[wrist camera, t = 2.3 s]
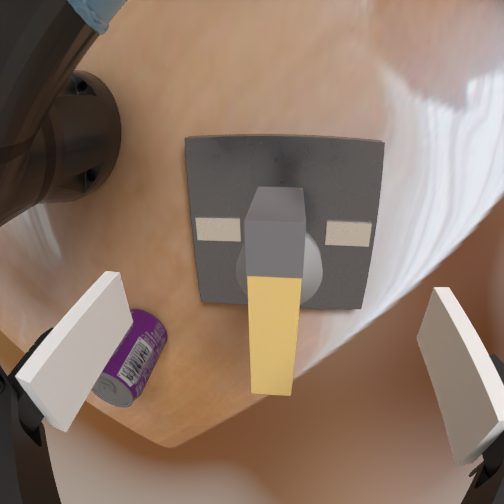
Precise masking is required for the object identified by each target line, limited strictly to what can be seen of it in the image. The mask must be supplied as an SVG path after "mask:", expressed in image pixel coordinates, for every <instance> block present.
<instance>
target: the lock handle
mask: <svg viewBox="0 0 504 504" xmlns="http://www.w3.org/2000/svg"><path fill="white" fill-rule="evenodd" d="M244 231H245V242H244V244H243V246H242V248H241V251H240V254H239V257H238V260H237V264H236V277H237V281H238V283H239V285H240V287H241V289H242V290H243V292H244V293H245V294H246V295H247V296H248V314H249V341H250V368H251V393H256V394H270V395H287V396H288V395H289V396H290V395H291V388H292V380H293V371H294V361H295V351H296V341H297V330H298V319H299V307H300V304H302V303H304V302H306V301H307V300H309V299H310V298H311V297H312V296H313V295H314V294H315V293H316V291H317V290H318V288H319V286H320V284H321V281H322V276H323V269H322V261H321V254H320V250H319V247H318V245H317V243H316V242H315V240H314V239H313V238H312V236H311V235H310V234H309V233H307V232H306V216H305V204H304V194H303V188H296V187H258V188H257V191H256V193H255V196H254V198H253V200H252V203H251V205H250V208H249V210H248V213H247V215H246V218H245V220H244Z"/></svg>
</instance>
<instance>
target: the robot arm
mask: <svg viewBox="0 0 504 504" xmlns="http://www.w3.org/2000/svg"><path fill="white" fill-rule="evenodd" d="M126 1H127V0H0V226H2V225H4V224H5V223H7V222H8V221H10V220H11V219H13V218H15V217H16V216H18V215H19V214H21V213H23V212H24V211H26V210H27V209H29V208H31V207H33V206H34V205H36V204H42V203H55V202H68V201H73V200H76V199H79V198H81V197H83V196H85V195H87V194H88V193H90V192H92V191H94V190H95V189H97V188H98V187H99V186H100V185H101V184H102V183H103V182H104V181H105V180H106V179H107V177H108V176H109V174H110V173H111V171H112V169H113V167H114V165H115V162H116V159H117V156H118V152H119V148H120V141H121V123H120V116H119V112H118V108H117V105H116V102H115V100H114V97H113V95H112V94H111V92H110V90H109V89H108V87H107V86H106V85H105V84H104V83H103V82H102V81H101V80H100V79H99V78H97V77H96V76H94V75H93V74H91V73H88V72H85V71H79V70H74V69H75V68H76V66H77V65H78V64H79V62H80V61H81V59H82V58H83V56H84V55H85V54H86V52H87V51H88V50H89V48H90V47H91V45H92V44H93V43H94V42H95V40H96V39H97V38H98V36H99V35H100V34H104V33H105V32H106V31H107V30H108V27H109V22H110V21H111V20H112V19H113V17H114V16H115V15H116V13H117V12H118V11H119V10H120V8H121V7H122V6H123V5H124V3H125V2H126ZM132 323H133V319H132V316H131V312H130V309H129V305H128V302H127V298H126V294H125V291H124V287H123V283H122V279H121V275H120V272H110V271H105V272H104V273H103V274H102V275H101V277H100V278H99V279H98V280H97V281H96V282H95V283H94V284H93V285H92V286H91V287H90V288H89V289H88V290H87V291H86V293H85V294H84V295H83V296H82V297H81V298H80V299H79V300H78V301H77V302H76V304H75V305H74V306H73V307H72V308H71V309H70V310H69V311H68V313H67V314H66V315H65V316H64V317H63V318H62V319H61V321H60V322H59V323H58V324H57V325H56V326H55V327H54V328H51V329H49V330H48V331H46V332H45V333H43V334H42V335H41V336H40V337H39V338H38V340H37V341H36V342H35V345H33V346H32V347H31V348H30V349H29V352H27V353H26V354H25V355H24V356H23V358H22V359H21V360H20V361H19V363H18V364H17V365H16V367H15V368H14V369H13V370H12V372H11V373H10V374H9V375H8V376H7V375H6V374H5V372H4V370H3V369H2V367H1V366H0V504H61V501H60V498H59V494H58V491H57V487H56V483H55V479H54V475H53V471H52V467H51V462H50V457H49V452H48V447H47V441H46V435H45V429H44V426H43V424H42V422H41V421H42V419H43V418H44V417H45V418H46V419H47V421H48V422H49V423H50V425H51V426H53V427H55V428H58V429H60V430H62V431H64V432H67V430H68V429H69V427H70V425H71V423H72V422H73V419H74V418H75V416H76V414H77V413H78V411H79V409H80V407H81V406H82V404H83V403H84V401H85V399H86V397H87V396H88V394H89V392H90V391H91V389H92V387H93V386H94V384H95V382H96V381H97V379H98V377H99V376H100V374H101V372H102V371H103V369H104V368H105V366H106V364H107V363H108V361H109V359H110V358H111V356H112V355H113V353H114V351H115V350H116V348H117V347H118V345H119V344H120V342H121V340H122V339H123V337H124V336H125V334H126V333H127V331H128V330H129V328H130V326H131V325H132ZM416 339H417V342H418V344H419V347H420V349H421V353H422V355H423V358H424V361H425V364H426V367H427V369H428V372H429V375H430V378H431V381H432V384H433V387H434V390H435V393H436V397H437V400H438V403H439V407H440V410H441V413H442V417H443V420H444V424H445V427H446V431H447V435H448V439H449V443H450V446H451V451H452V455H453V459H454V464H455V467H458V466H462V465H466V464H469V463H473V462H474V461H475V460H476V459H477V458H478V457H479V456H480V455H481V454H482V455H483V459H484V461H483V462H482V463H481V464H479V465H478V466H477V467H476V468H475V469H474V470H473V471H472V472H471V473H470V475H469V477H471V476H472V475H474V474H475V473H476V472H477V473H476V475H475V477H474V479H473V481H472V483H471V485H470V487H469V489H468V491H467V493H466V495H465V497H464V499H463V501H462V503H461V504H504V363H503V362H502V361H501V360H500V359H499V358H498V357H497V356H496V355H495V354H492V355H488V353H487V351H486V349H485V347H484V345H483V344H482V342H481V340H480V338H479V337H478V335H477V333H476V331H475V329H474V328H473V326H472V324H471V322H470V321H469V319H468V318H467V316H466V314H465V312H464V311H463V309H462V307H461V306H460V304H459V303H458V301H457V299H456V298H455V296H454V295H453V293H452V292H451V290H450V288H449V287H434V288H433V291H432V294H431V298H430V301H429V304H428V307H427V310H426V313H425V316H424V319H423V322H422V324H421V327H420V330H419V333H418V335H417V338H416Z"/></svg>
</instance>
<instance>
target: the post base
mask: <svg viewBox="0 0 504 504" xmlns="http://www.w3.org/2000/svg"><path fill="white" fill-rule="evenodd" d="M384 144H385V143H384V142H382V141H380V140H370V139H359V138H347V137H333V136H315V135H285V134H237V135H208V136H190V137H187V138H185V151H186V165H187V177H188V189H189V200H190V211H191V221H192V230H193V239H194V248H195V257H196V265H197V273H198V281H199V289H200V296H201V302H213V303H226V304H241V305H248V296H247V295H246V294H245V293H244V292H243V290H242V289H241V287H240V285H239V283H238V281H237V277H236V264H237V260H238V257H239V254H240V251H241V248H242V246H243V244H244V242H245V231H244V220H245V218H246V215H247V213H248V210H249V208H250V205H251V203H252V200H253V198H254V196H255V193H256V191H257V188H258V187H296V188H303V194H304V204H305V216H306V232H307V233H309V234H310V235H311V236H312V238H313V239H314V240H315V242H316V243H317V245H318V247H319V250H320V254H321V261H322V269H323V276H322V281H321V284H320V286H319V288H318V290H317V291H316V293H315V294H314V295H313V296H312V297H311V298H310V299H309V300H307V301H306V302H304V303H302V304H300V307H299V308H328V309H361V307H362V303H363V298H364V293H365V288H366V283H367V278H368V272H369V267H370V261H371V255H372V249H373V243H374V236H375V230H376V223H377V215H378V207H379V199H380V190H381V180H382V170H383V158H384Z"/></svg>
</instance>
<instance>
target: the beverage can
mask: <svg viewBox="0 0 504 504" xmlns="http://www.w3.org/2000/svg"><path fill="white" fill-rule="evenodd" d="M130 312H131V316H132V319H133V323H132V325H131V326H130V328H129V330H128V331H127V333H126V334H125V336H124V337H123V339H122V340H121V342H120V344H119V345H118V347H117V348H116V350H115V351H114V353H113V355H112V356H111V358H110V359H109V361H108V363H107V364H106V366H105V368H104V369H103V371H102V372H101V374H100V376H99V377H98V379H97V381H96V382H95V384H94V386H93V387H92V389H91V390H92V391H93V392H94V393H95V394H96V395H97V396H98V397H99V398H101V399H102V400H104V401H106V402H108V403H110V404H112V405H115V406H118V407H129V406H131V405H132V403H133V401H134V400H135V399H136V398H138V397H139V396H140V395H141V393H142V391H143V389H144V387H145V385H146V383H147V381H148V379H149V377H150V374H151V372H152V370H153V368H154V366H155V364H156V362H157V360H158V358H159V356H160V354H161V351H162V349H163V347H164V345H165V343H166V341H167V332H166V330H165V328H164V326H163V325H162V323H161V322H160V321H159V320H158V319H157V318H156V317H154V316H153V315H151V314H150V313H148V312H146V311H143V310H139V309H130Z"/></svg>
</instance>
